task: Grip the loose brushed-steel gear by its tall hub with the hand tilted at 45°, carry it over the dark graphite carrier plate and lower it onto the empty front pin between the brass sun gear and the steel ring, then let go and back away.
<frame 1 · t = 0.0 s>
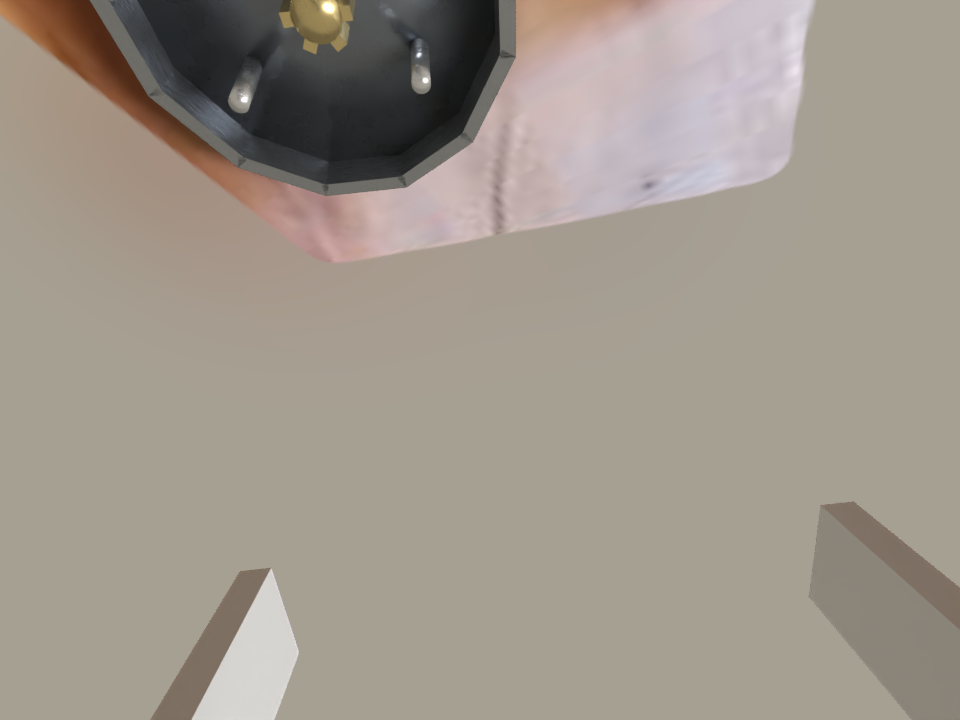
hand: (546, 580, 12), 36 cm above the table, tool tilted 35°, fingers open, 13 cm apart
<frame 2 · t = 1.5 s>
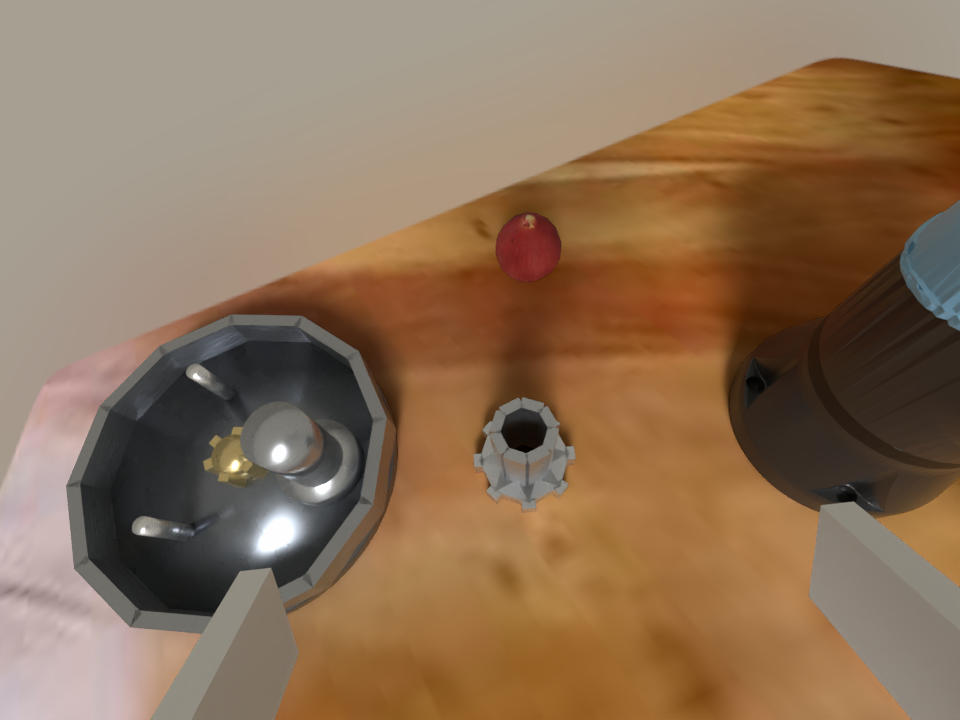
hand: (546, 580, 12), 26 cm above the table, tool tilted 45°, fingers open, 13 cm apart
onion: (527, 273, 47), on the table
planet gear: (524, 462, 39), on the table
carrier: (256, 465, 41), on the table
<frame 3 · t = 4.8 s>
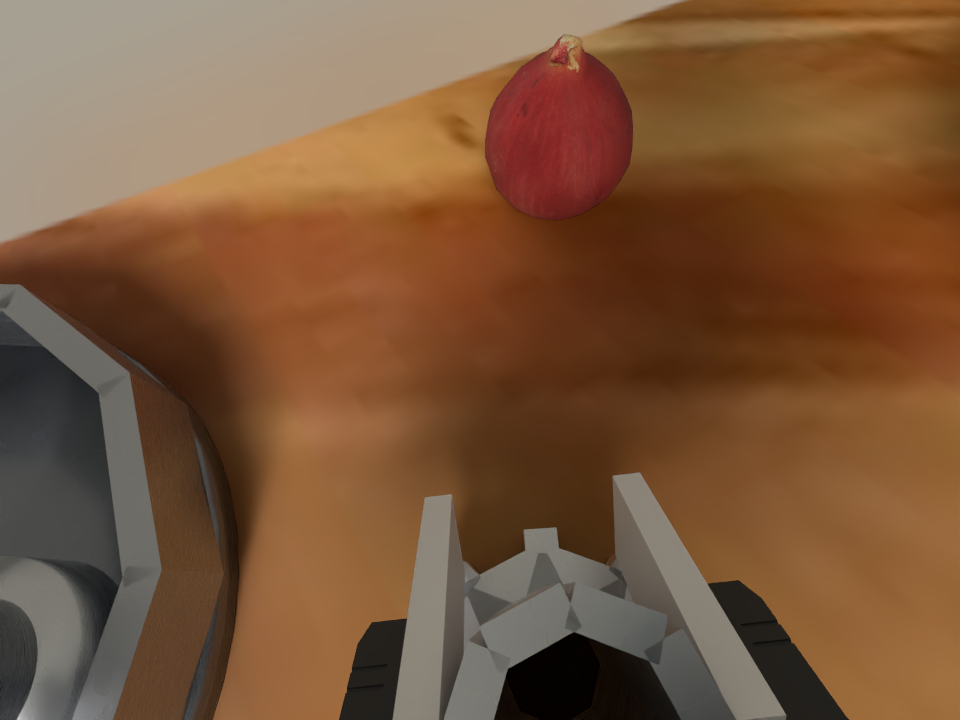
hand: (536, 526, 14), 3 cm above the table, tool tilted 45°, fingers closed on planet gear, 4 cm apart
onion: (551, 212, 23), on the table
planet gear: (551, 667, 15), on the table, touching gripper
when the fingers open (6 cm above the table, at t = 10.6 s): planet gear stays where it is, resting on carrier.
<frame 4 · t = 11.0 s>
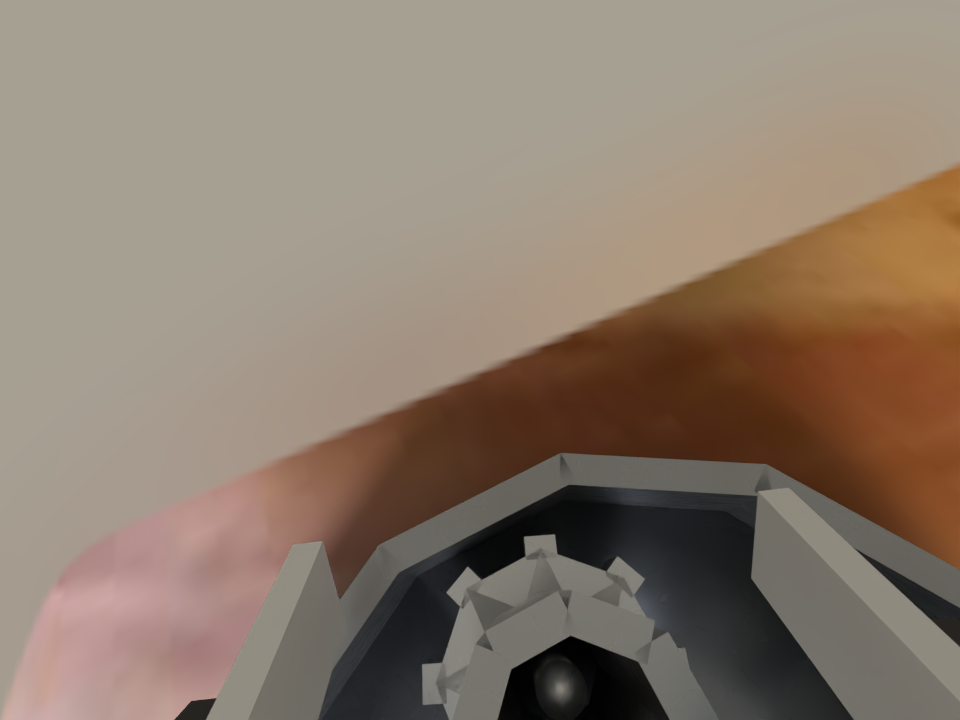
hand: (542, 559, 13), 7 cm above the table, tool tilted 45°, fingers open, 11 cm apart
planet gear: (550, 666, 16), point 1 cm above the table, touching carrier
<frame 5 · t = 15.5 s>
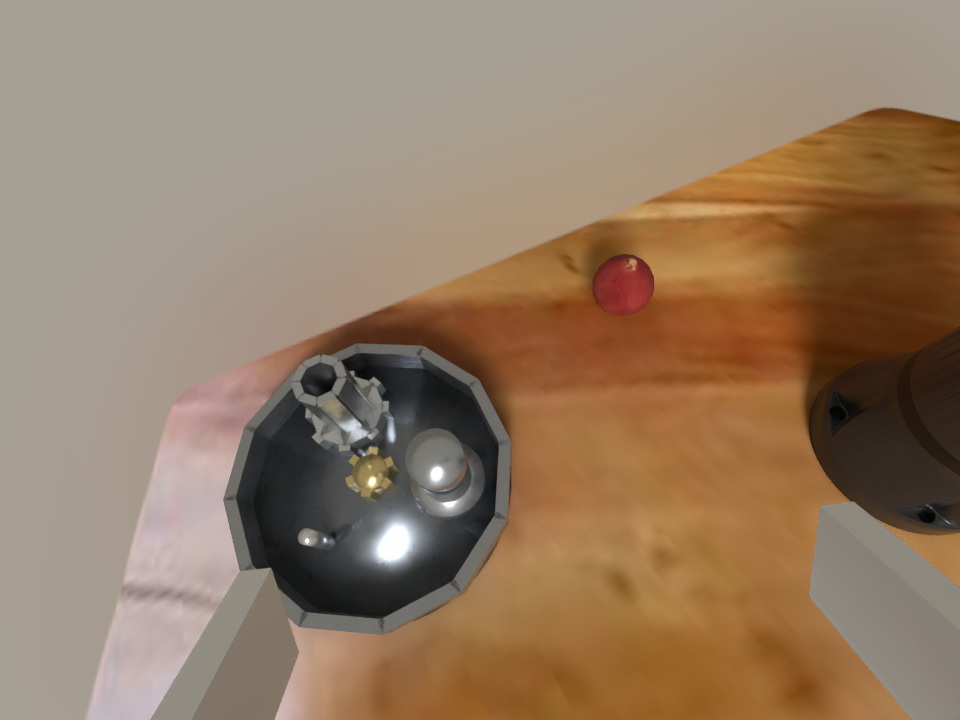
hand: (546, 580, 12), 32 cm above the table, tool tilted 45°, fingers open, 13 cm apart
onion: (615, 306, 52), on the table
planet gear: (353, 416, 46), point 1 cm above the table, touching carrier
carrier: (381, 481, 45), on the table
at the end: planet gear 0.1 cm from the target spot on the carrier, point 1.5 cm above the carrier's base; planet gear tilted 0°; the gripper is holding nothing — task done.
